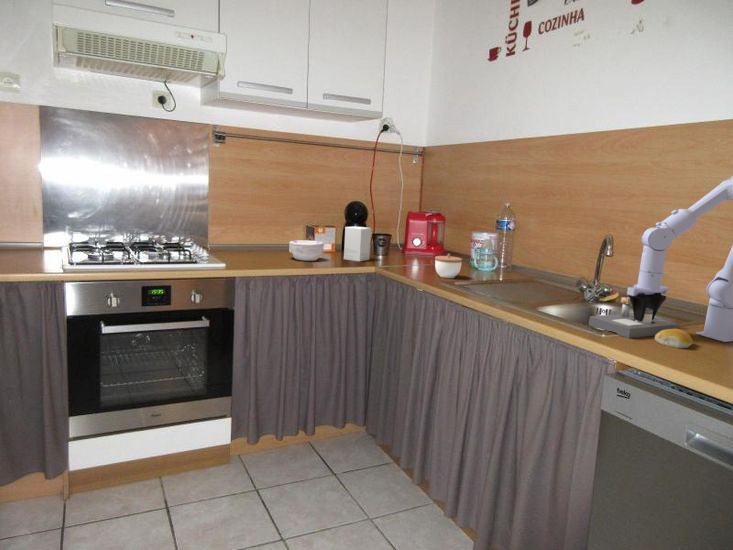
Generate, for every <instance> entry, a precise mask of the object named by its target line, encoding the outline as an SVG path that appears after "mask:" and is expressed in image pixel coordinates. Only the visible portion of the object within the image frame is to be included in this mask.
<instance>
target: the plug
mask: <svg viewBox="0 0 733 550" xmlns="http://www.w3.org/2000/svg"><path fill="white" fill-rule="evenodd" d="M652 315H653V309H649V308H646V310H645V314H644V318H643V320H642V321H638V320H635V321H636V322H640V323H643V324H651V322H652Z"/></svg>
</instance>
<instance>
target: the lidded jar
mask: <svg viewBox="0 0 733 550" xmlns="http://www.w3.org/2000/svg"><path fill="white" fill-rule="evenodd" d="M462 262H463V258H461V257H457V256H451V253H447V255H437V256H435V257H434V267H435V268H434V269H435V271H436V274H438V275H439V276H438V277H440V278H442V279H443V278H444V279H445V278H446V279H455V277H456V276H457V275H459V273H460V271H461V269H462V268H461V267H462Z"/></svg>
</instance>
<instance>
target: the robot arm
mask: <svg viewBox="0 0 733 550" xmlns="http://www.w3.org/2000/svg"><path fill="white" fill-rule="evenodd" d="M731 200H733V175H732V176H730V177H729V178H728V179H725V180H724V181H721V183H720V184H718V185H717V186H715V187H714V189H712V190H711V191H709V192H708V193H707V194H705V195H704V196H703V197H702V198H700V199H699V200H698V201H696V202H695V203H694V204H692V205H691V206H689V208H687V209H685V208H679V209H678V210H677V209H674V210H672V211H671V212H670V214H671V215H669V216H668V217H666V218H665V219H664V220H662V221H657V222H656V223H655V227H650V228H648V229H646V230H645V231H644V232H643V234H642V236H640V241H641V242H640V243H642V245H643V247H642V254H641V258H640V259H641V260H640V266H639V271H638V279H637V284H633V286H630V287H627V292H626V295H627V296H628V297H629V298H630V301H631V303H632V304H631V306H632V313H634V320H638V321H642V320H643V318H644V314H645V310H646V308H649V309H653V315H652V320H653V319H654V318H656V317H655V316H656V315H657V313H658V310H659V309H660V307H661V305H662V304H663V303H664V302H665V300H666V299H667V296H666V295H668V294H669V286H664V285H662V281H663V276H664V267H665V262H666V255H667V254H666V253H667V248H670V247H671V246H672V244H673V241H674V240H676V239H677V238H679V237H680V236H682V235H684V234H685V232H687V231H689V230H690V229H692V228H693V227H695V225H696V224H697V223H696V222H697V219H698V218H700V217H702V216H703V215H704V214H706V213H707V212H709V211H711V210H712V209H714V208H715V207H718V206H719V205H721V204H722V203H723V202H726V201H731ZM663 294H664V295H663ZM706 294H707V297H708V298H709V301H708V307H707V310H706V311H707V312H706V317H705V323H704V328H703V331H696V332H695V334H696V335H698V336H702V337H706V338H708V339H712V340H717V341H720V342H723V343H727V342H733V245H732V246H731V249H730V251H729V253H728V256H727V258H726V260H725V263H724V265H723V268H721V270H719V271H717V273H715V277H714V278H713V279H712V280H711V281H710V282H709V283H708V285H707V286H706Z"/></svg>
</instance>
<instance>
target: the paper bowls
mask: <svg viewBox="0 0 733 550" xmlns="http://www.w3.org/2000/svg"><path fill="white" fill-rule="evenodd" d="M324 247H325V243H324V242H322V241H319V240H308V239H307V240H304V239H303V240H301V239H300V240H290V241H289V245H288V250H289V253H290V254H292V256H293V258H294V260H297V261H305V262H311V261H317V260H318V259H319V258H320V256H321V255H323V254H324V251H325V249H324Z"/></svg>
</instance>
